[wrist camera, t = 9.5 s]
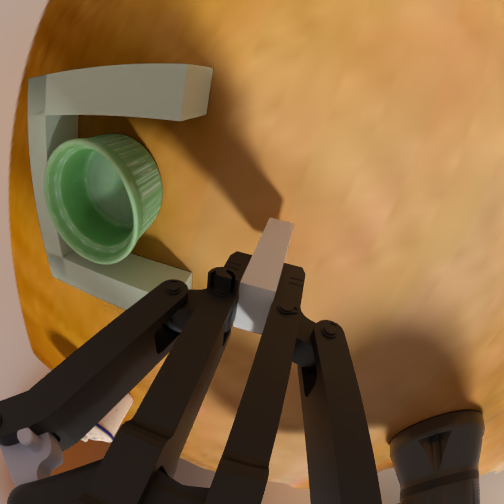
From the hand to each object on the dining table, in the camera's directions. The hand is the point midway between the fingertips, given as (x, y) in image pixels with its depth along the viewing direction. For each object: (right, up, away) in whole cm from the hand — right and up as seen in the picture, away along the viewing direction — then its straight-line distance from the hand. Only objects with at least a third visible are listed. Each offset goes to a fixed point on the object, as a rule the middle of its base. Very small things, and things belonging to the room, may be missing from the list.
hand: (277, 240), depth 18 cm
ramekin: (-11, +5, +2) cm, 13 cm away
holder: (-12, +4, +2) cm, 12 cm away
